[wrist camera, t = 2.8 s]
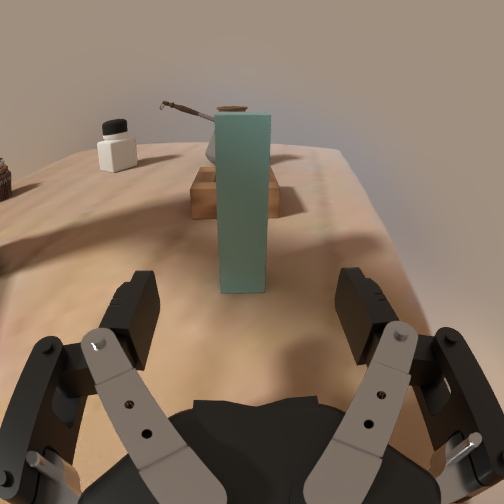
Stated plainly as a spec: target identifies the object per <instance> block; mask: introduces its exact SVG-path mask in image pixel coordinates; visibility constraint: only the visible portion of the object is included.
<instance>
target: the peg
mask: <svg viewBox="0 0 504 504" xmlns="http://www.w3.org/2000/svg"><path fill="white" fill-rule="evenodd" d="M270 134H271V115H270V114H268V113H267V112H218V113H217V114H215V167H216V200H217V225H218V247H219V267H220V284H221V293H264V292H265V272H266V249H267V225H268V198H269V169H270V136H271V135H270Z"/></svg>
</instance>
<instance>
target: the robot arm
mask: <svg viewBox="0 0 504 504" xmlns="http://www.w3.org/2000/svg"><path fill="white" fill-rule="evenodd" d="M335 309H336V312H337V314H338V317H339V319H340V322H341V324H342V327H343V330H344V332H345V335H346V337H347V340H348V343H349V345H350V348H351V351H352V354H353V356H354V359H355V362H356V364H357V365H363V364H366V365H367V367H368V369H367V371H366V373H365V376H364V378H363V380H362V382H361V384H360V386H359V388H358V390H357V392H356V394H355V396H354V398H353V400H352V402H351V404H350V406H349V408H348V410H347V412H346V413H345V412H343V411H342V410H339V409H337V408H335V407H332V406H328V405H324V404H319V403H318V399H317V396H308V397H297V398H287V399H283V400H280V401H276V402H273V403H269V404H266V405H262V406H257V407H254V406H248V405H243V404H238V403H233V402H228V401H211V400H194V403H193V408H192V409H188V410H184V411H181V412H179V413H176V414H174V415H172V416H171V417H169V418H167V417H166V415H165V414H164V412H163V411H162V410H161V408H160V407H159V405H158V404H157V402H156V401H155V399H154V398H153V396H152V395H151V393H150V391H149V390H148V388H147V387H146V385H145V384H144V382H143V380H142V379H141V377H140V375H139V374H138V372H137V371H136V370H141V371H144V369H145V365H146V361H147V357H148V354H149V350H150V346H151V342H152V338H153V335H154V331H155V327H156V324H157V320H158V317H159V313H160V298H159V294H158V289H157V284H156V279H155V275H154V272H153V271H135V273H134V275H133V277H132V279H131V281H130V282H124V283H123V284H122V285H121V286H120V287H119V288H118V289H117V290H116V292H115V294H114V296H113V299H112V300H111V302H110V306H108V308H107V310H106V313H105V315H104V317H103V319H102V321H101V323H100V325H99V328H97V329H93V330H91V331H90V332H88V333H87V334H86V335H85V336H84V337H83V339H82V341H81V342H80V343H75V344H69V345H63V344H62V342H61V340H60V339H59V338H58V337H55V336H48V337H45V338H42V339H41V340H39V341H38V342H37V343H36V344H35V346H34V347H33V349H32V352H31V354H30V356H29V358H28V360H27V362H26V364H25V367H24V369H23V371H22V373H21V376H20V378H19V380H18V383H17V385H16V387H15V390H14V392H13V395H12V397H11V400H10V403H9V405H8V408H7V411H6V413H5V416H4V419H3V422H2V425H1V428H0V498H2V499H3V500H5V501H7V502H9V503H11V504H451V503H462V502H464V501H466V500H468V499H470V498H472V497H474V496H476V495H478V494H480V493H481V492H483V491H485V490H487V489H488V488H490V487H492V486H493V485H495V484H497V483H498V482H500V481H501V480H503V479H504V414H503V411H502V409H501V407H500V405H499V403H498V401H497V399H496V397H495V395H494V392H493V390H492V389H491V386H490V384H489V382H488V381H487V379H486V377H485V375H484V373H483V371H482V369H481V367H480V366H479V364H478V362H477V360H476V359H475V357H474V355H473V353H472V351H471V350H470V348H469V346H468V344H467V343H466V341H465V340H464V338H463V336H462V335H461V334H460V333H459V332H458V331H456V330H455V329H452V328H449V327H443V328H440V329H439V330H438V331H437V332H436V334H435V336H425V335H418V334H417V331H416V330H415V328H414V327H412V326H411V325H410V324H408V323H406V322H403V321H399V319H398V317H397V315H396V314H395V312H394V310H393V309H392V307H391V305H390V304H389V302H388V300H387V299H386V297H385V295H384V294H383V292H382V290H381V289H380V287H379V286H378V284H376V283H375V282H374V281H373V280H371V279H370V278H365V276H364V275H363V273H362V271H361V270H360V268H358V267H355V268H342V269H341V271H340V275H339V280H338V284H337V289H336V294H335ZM444 378H446V380H447V382H448V384H449V387H450V390H451V394H450V392H449V390H448V388H447V385H446V383H445V381H444ZM409 385H410V386H412V387H413V390H414V393H415V395H416V398H417V401H418V403H419V406H420V409H421V412H422V415H423V418H424V421H425V424H426V427H427V430H428V433H429V436H430V439H431V442H432V445H433V449H434V452H435V453H434V454H433V455H432V458H431V461H430V466H431V467H430V469H429V472H428V471H427V470H425V469H424V468H422V467H421V466H419V465H418V464H416V463H415V462H413V461H412V460H410V459H409V458H407V457H406V456H405V455H403V454H402V453H400V452H399V451H397V450H396V449H395V448H393V447H392V446H390V445H389V444H388V442H389V439H390V437H391V434H392V432H393V429H394V426H395V424H396V421H397V418H398V416H399V413H400V410H401V407H402V404H403V401H404V398H405V395H406V392H407V389H408V386H409ZM94 394H98V395H99V397H100V400H101V402H102V404H103V406H104V408H105V410H106V412H107V414H108V416H109V418H110V420H111V422H112V424H113V426H114V428H115V430H116V432H117V434H118V436H119V438H120V439H121V441H122V443H123V445H124V447H125V448H126V450H127V452H128V454H127V455H125V456H124V457H123V458H122V459H121V460H120V461H118V462H117V463H116V464H115V465H114V466H113V467H111V468H110V469H109V470H108V471H107V472H106V473H104V474H103V475H102V476H101V477H100V478H98V479H97V480H96V481H95V482H94V483H92V484H91V485H90V486H89V487H87V488H86V489H85V490H84V492H83V493H82V492H81V489H80V478H79V475H78V472H77V471H76V469H75V468H74V467H73V466H72V464H73V458H74V453H75V448H76V443H77V438H78V434H79V429H80V425H81V420H82V416H83V412H84V408H85V404H86V400H87V397H88V395H94Z"/></svg>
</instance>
